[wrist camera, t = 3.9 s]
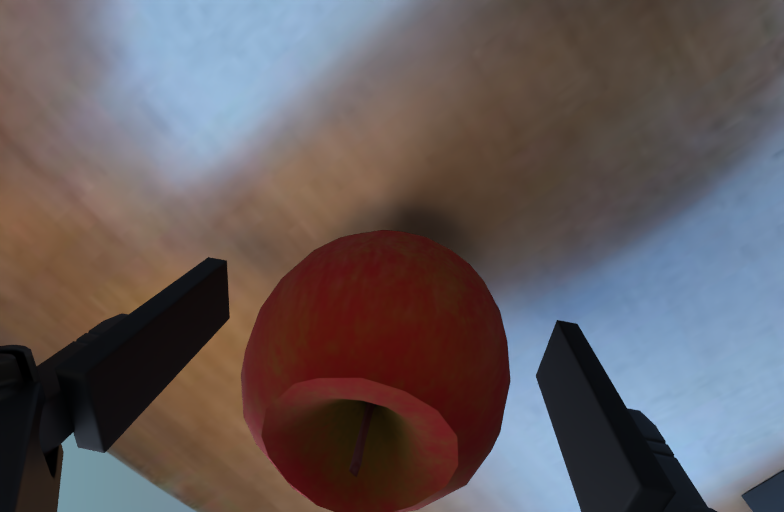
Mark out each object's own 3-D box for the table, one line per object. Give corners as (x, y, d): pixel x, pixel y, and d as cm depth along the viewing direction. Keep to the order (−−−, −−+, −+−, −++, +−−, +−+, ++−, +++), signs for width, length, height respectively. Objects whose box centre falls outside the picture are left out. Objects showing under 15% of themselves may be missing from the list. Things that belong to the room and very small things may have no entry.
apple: (463, 360, 20) (481, 617, 10) (309, 326, 21) (186, 544, 11) (510, 208, 17) (608, 381, 7) (323, 171, 17) (157, 283, 7)
